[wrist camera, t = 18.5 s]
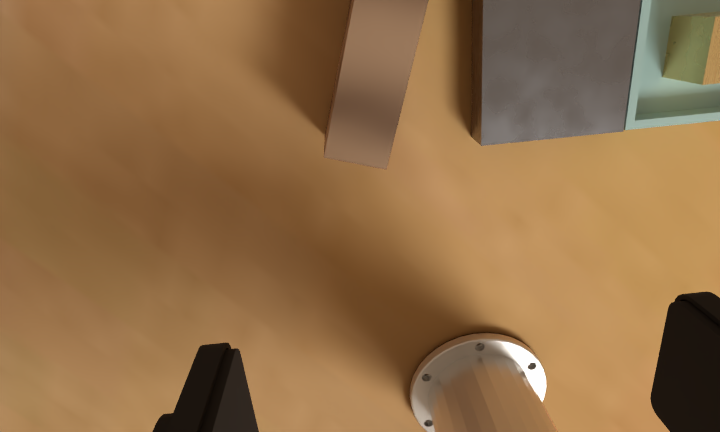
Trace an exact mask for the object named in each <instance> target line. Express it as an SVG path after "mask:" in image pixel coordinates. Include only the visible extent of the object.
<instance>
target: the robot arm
mask: <svg viewBox="0 0 720 432" xmlns="http://www.w3.org/2000/svg"><path fill="white" fill-rule="evenodd" d="M546 388H547V385H546V375H545V372H544V368H543V366H542V365H541V363H540V361H539V359H538V357H537V356H536V355H535V354H534V352H533V351H532V350H531V349H530V348H529V347H527V346H526V345H525V344H524V343H522V342H520V341H518V340H516V339H514V338H512V337H509V336H505V335H501V334H493V333H479V334H471V335H467V336H462V337H459V338H456V339H454V340H451V341H449V342H447V343H445V344H443V345H442V346H440V347H438V348H436V349H435V350H434V351H433V352H432V353H430V354H429V355H428V356H427V357H426V358H425V359H424V360H423V361H422V363H421V364H420V365H419V366H418V368H417V370H416V372H415V374H414V375H413V378H412V382H411V385H410V400H411V406H412V410H413V413H414V416H415V418H416V419H417V421H418V423H419V424H420V425H421V426H422V427H423V428H424V429H425V430H426V431H427V432H558V431H557V429H556V427H555V425H554V423H553V421H552V419H551V418H550V416H549V414H548V412H547V410H546V408H545V406H544V405H543V403H542V402H543V400H544V397H545V393H546ZM651 404H652V407H653V409H654V411H655V413H656V415H657V416H658V417H659V418H660V420H661V421H662V422H663V423H664V425H665V426H666V427H667V428H668V430H669V431H670V432H720V298H719V297H718V296H716V295H715V294H713V293H711V292H699V293H690V294H681V295H679V296H678V297H677V298H676V299H675V302H673V303H671V304H670V305H669V308H668V312H667V317H666V322H665V327H664V332H663V337H662V342H661V347H660V352H659V357H658V362H657V367H656V372H655V377H654V382H653V387H652V392H651ZM153 432H259V431H258V427H257V422H256V418H255V414H254V410H253V405H252V401H251V397H250V393H249V388H248V384H247V380H246V375H245V371H244V367H243V363H242V358H241V354H240V351H239V349H231V346H230V345H229V343H219V344H209V345H202V346H200V348H199V349H198V352H197V354H196V357H195V359H194V362H193V364H192V367H191V370H190V372H189V375H188V377H187V380H186V382H185V385H184V387H183V390H182V392H181V395H180V397H179V400H178V402H177V405H176V408H175V410H174V413H171V414H163V415H162V416H161V417H160V418H159V420H158V421H157V423H156V425H155V427H154V430H153Z"/></svg>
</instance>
